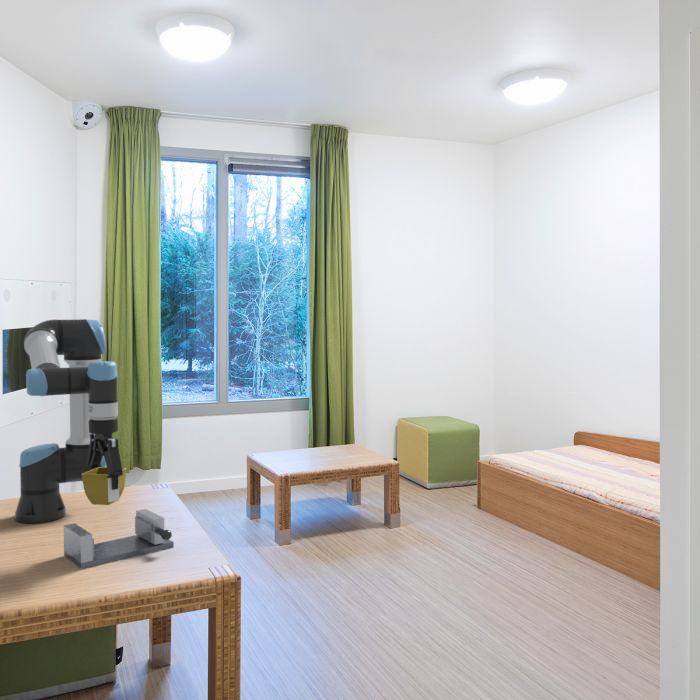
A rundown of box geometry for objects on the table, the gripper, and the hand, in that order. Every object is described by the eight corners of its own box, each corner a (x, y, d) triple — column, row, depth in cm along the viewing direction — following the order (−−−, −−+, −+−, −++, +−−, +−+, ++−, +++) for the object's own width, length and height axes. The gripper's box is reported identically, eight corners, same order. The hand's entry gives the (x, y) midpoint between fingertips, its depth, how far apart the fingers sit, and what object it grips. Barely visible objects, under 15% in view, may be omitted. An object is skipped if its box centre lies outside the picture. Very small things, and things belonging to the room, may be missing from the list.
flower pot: (81, 506, 186) (80, 473, 185) (99, 498, 194) (98, 466, 194) (110, 508, 184) (110, 474, 184) (127, 499, 193) (127, 467, 192)
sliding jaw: (134, 535, 201) (134, 511, 201) (146, 532, 204) (145, 509, 204) (161, 550, 188) (161, 525, 188) (174, 547, 190) (173, 522, 190)
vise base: (64, 556, 189) (63, 525, 189) (153, 536, 206) (153, 508, 206) (81, 568, 179) (80, 536, 179) (173, 547, 196) (173, 517, 196)
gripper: (73, 414, 195) (75, 490, 196) (106, 424, 177) (108, 507, 178) (100, 412, 200) (101, 486, 201) (135, 421, 182) (136, 502, 182)
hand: (104, 496), depth 189 cm, fingers closed on flower pot, 12 cm apart
